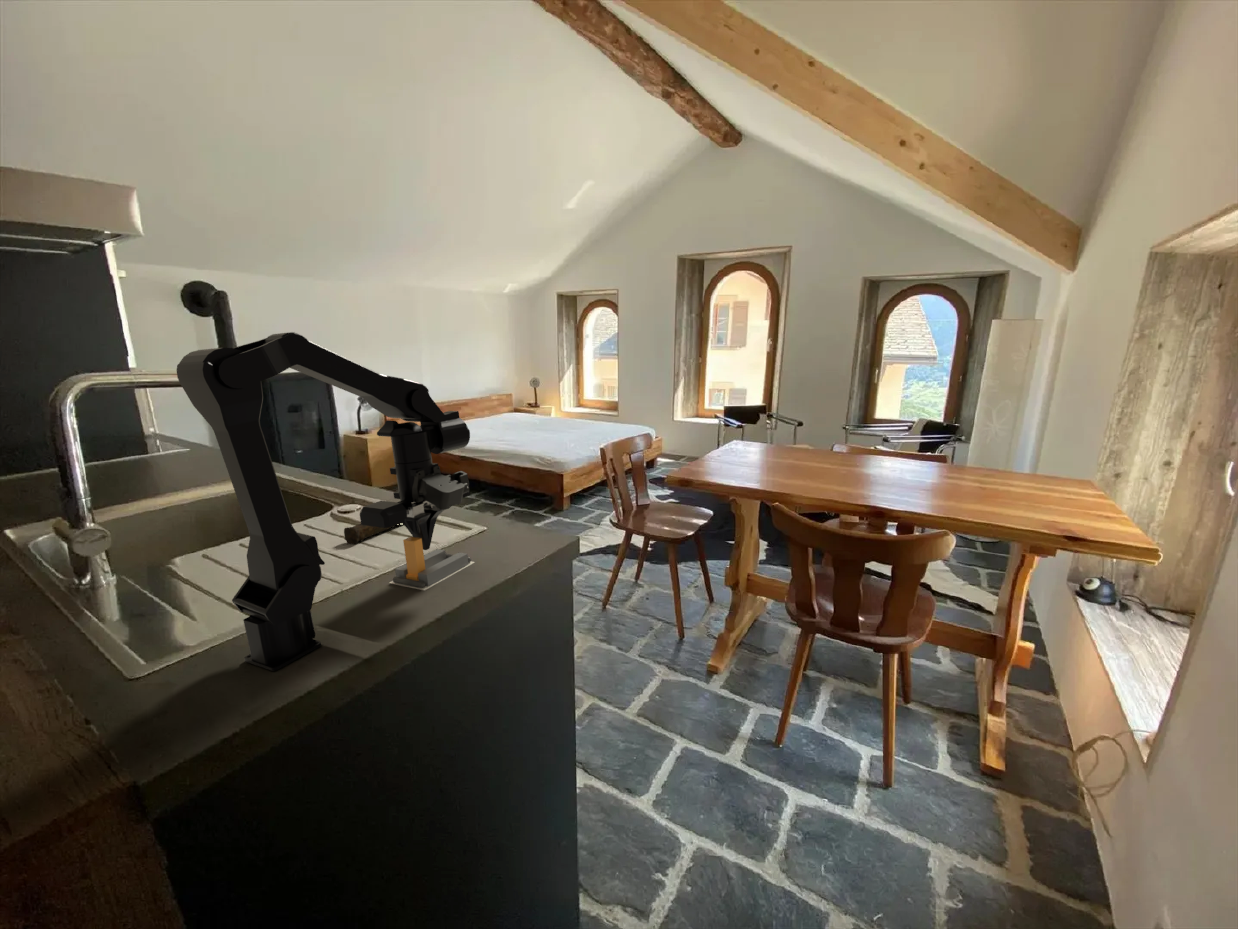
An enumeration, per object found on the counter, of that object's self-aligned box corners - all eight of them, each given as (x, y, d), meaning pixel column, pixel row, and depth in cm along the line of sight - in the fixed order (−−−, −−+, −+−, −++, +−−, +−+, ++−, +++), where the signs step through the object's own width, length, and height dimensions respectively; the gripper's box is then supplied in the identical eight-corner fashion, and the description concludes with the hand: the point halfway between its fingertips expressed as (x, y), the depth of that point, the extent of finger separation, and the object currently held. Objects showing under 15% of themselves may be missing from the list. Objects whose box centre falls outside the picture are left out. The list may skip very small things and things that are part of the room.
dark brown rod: (356, 546, 108) (353, 525, 107) (344, 544, 110) (341, 523, 109) (426, 520, 125) (424, 502, 124) (414, 518, 127) (412, 500, 126)
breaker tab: (417, 582, 84) (412, 542, 83) (406, 580, 85) (401, 540, 84) (428, 576, 86) (423, 537, 85) (417, 574, 87) (412, 535, 86)
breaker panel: (425, 598, 82) (423, 578, 82) (390, 591, 86) (387, 571, 85) (475, 569, 93) (473, 551, 92) (442, 564, 96) (440, 546, 96)
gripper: (404, 476, 72) (418, 579, 75) (489, 450, 88) (498, 535, 92) (349, 472, 77) (366, 568, 80) (440, 448, 93) (450, 529, 97)
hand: (425, 549), depth 87 cm, fingers closed
